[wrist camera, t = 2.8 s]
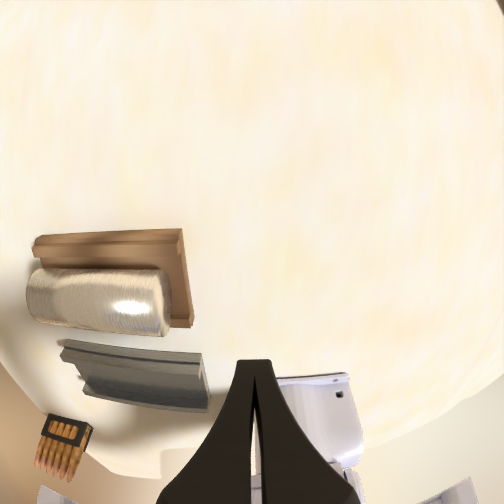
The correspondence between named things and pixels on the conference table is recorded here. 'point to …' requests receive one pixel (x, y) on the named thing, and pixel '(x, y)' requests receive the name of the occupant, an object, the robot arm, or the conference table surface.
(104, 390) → the cradle
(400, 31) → the conference table surface
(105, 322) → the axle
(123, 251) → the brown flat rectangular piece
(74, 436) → the ammunition clip
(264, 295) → the conference table surface
